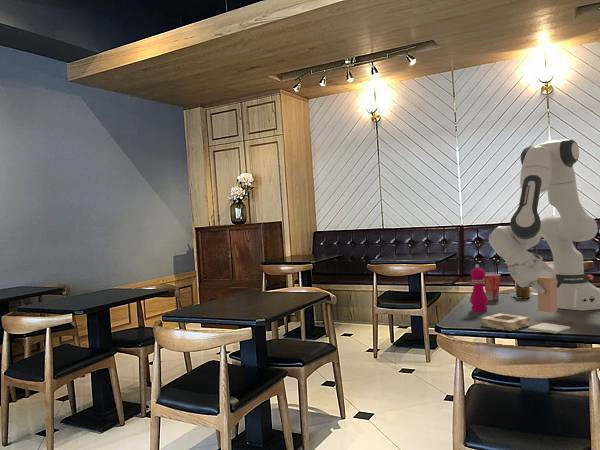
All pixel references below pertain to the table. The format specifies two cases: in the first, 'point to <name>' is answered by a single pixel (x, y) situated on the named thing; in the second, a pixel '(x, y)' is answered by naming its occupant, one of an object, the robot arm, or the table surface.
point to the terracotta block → (548, 294)
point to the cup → (492, 285)
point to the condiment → (522, 291)
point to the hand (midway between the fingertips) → (548, 291)
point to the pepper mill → (478, 290)
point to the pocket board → (505, 321)
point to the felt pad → (549, 327)
